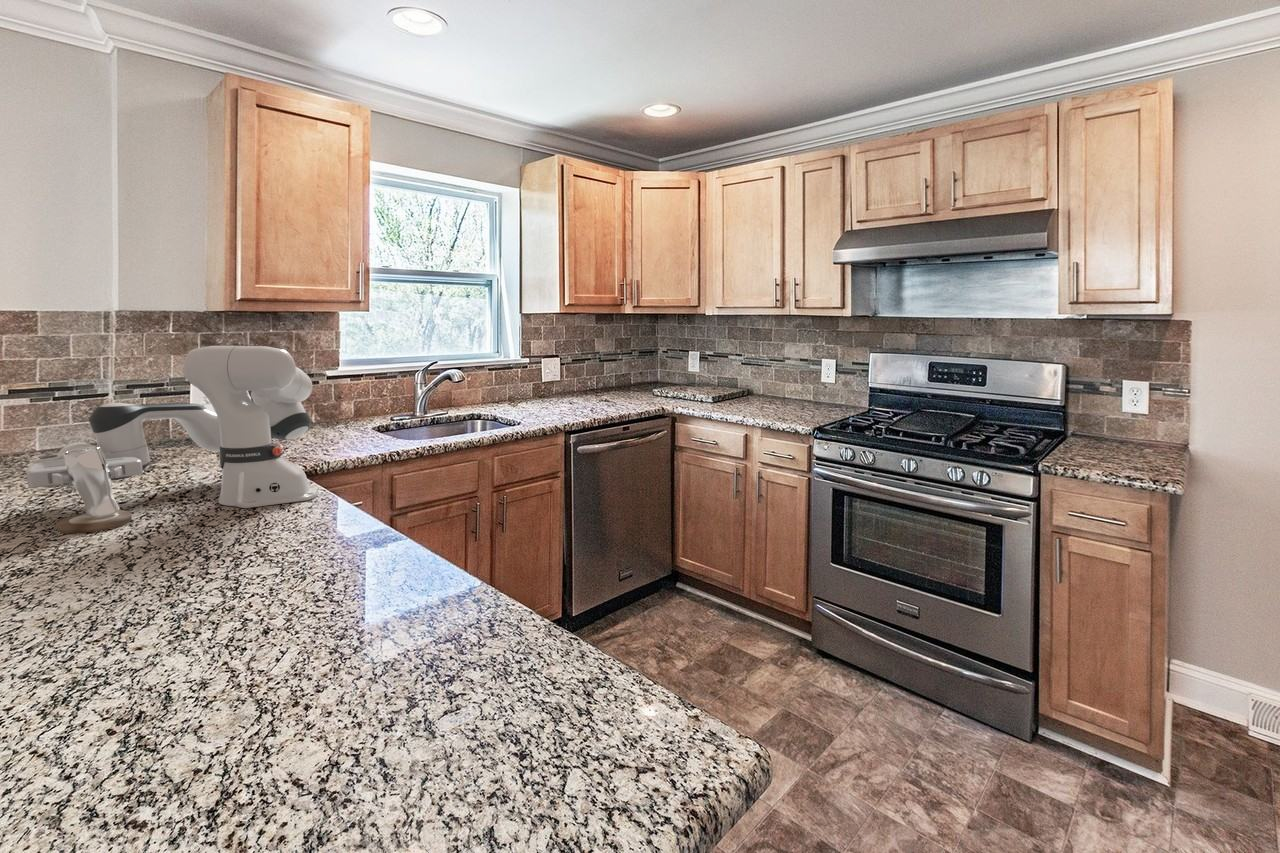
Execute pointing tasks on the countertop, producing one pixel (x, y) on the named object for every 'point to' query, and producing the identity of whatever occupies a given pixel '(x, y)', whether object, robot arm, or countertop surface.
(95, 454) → the beer glass
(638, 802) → the countertop surface
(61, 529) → the walnut board
